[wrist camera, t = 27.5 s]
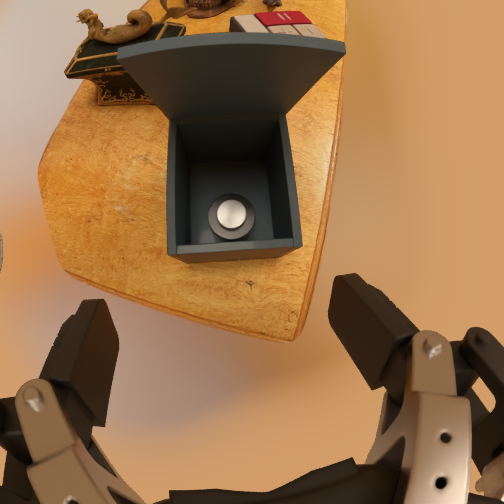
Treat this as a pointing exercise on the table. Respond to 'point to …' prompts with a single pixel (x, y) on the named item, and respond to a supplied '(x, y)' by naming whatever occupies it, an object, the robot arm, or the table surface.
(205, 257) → the bin
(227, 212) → the pepper grinder
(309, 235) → the table surface
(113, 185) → the table surface
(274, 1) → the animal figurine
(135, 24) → the decorative box
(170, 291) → the table surface
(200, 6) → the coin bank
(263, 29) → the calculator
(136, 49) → the bin lid
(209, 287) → the table surface
